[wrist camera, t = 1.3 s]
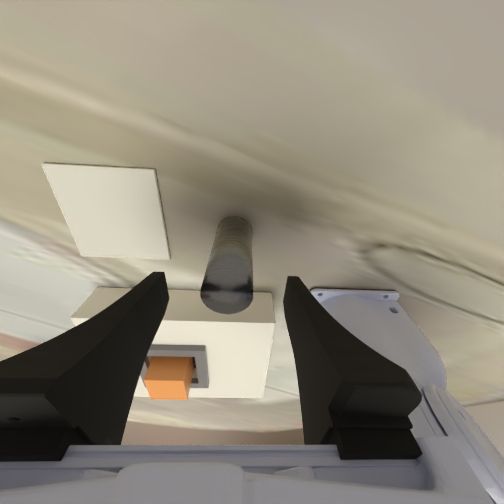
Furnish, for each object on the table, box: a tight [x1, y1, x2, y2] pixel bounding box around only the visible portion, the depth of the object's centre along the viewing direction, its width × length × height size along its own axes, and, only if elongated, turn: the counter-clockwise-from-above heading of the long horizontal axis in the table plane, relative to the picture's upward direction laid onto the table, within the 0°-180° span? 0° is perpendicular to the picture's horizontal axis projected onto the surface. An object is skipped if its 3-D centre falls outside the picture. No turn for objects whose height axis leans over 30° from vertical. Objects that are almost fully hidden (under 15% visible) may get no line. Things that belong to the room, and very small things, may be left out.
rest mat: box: [41, 163, 171, 260], centre depth 18 cm, size 8×8×1 cm
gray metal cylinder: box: [200, 216, 253, 314], centre depth 16 cm, size 3×3×8 cm
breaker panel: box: [71, 287, 275, 398], centre depth 24 cm, size 18×14×5 cm
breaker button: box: [144, 356, 194, 400], centre depth 22 cm, size 4×4×3 cm
